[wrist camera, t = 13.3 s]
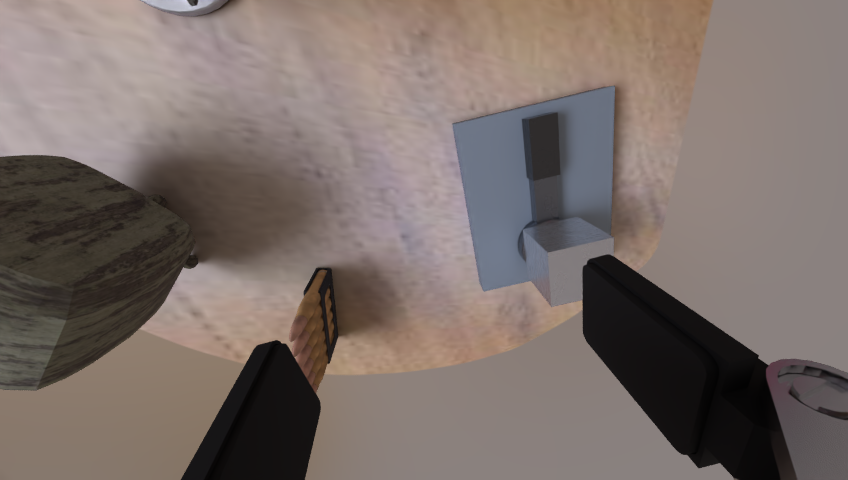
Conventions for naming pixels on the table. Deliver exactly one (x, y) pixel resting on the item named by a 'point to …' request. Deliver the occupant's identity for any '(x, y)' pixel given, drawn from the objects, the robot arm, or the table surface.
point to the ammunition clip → (315, 327)
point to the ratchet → (541, 169)
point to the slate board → (509, 186)
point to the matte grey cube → (563, 257)
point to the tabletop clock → (77, 266)
